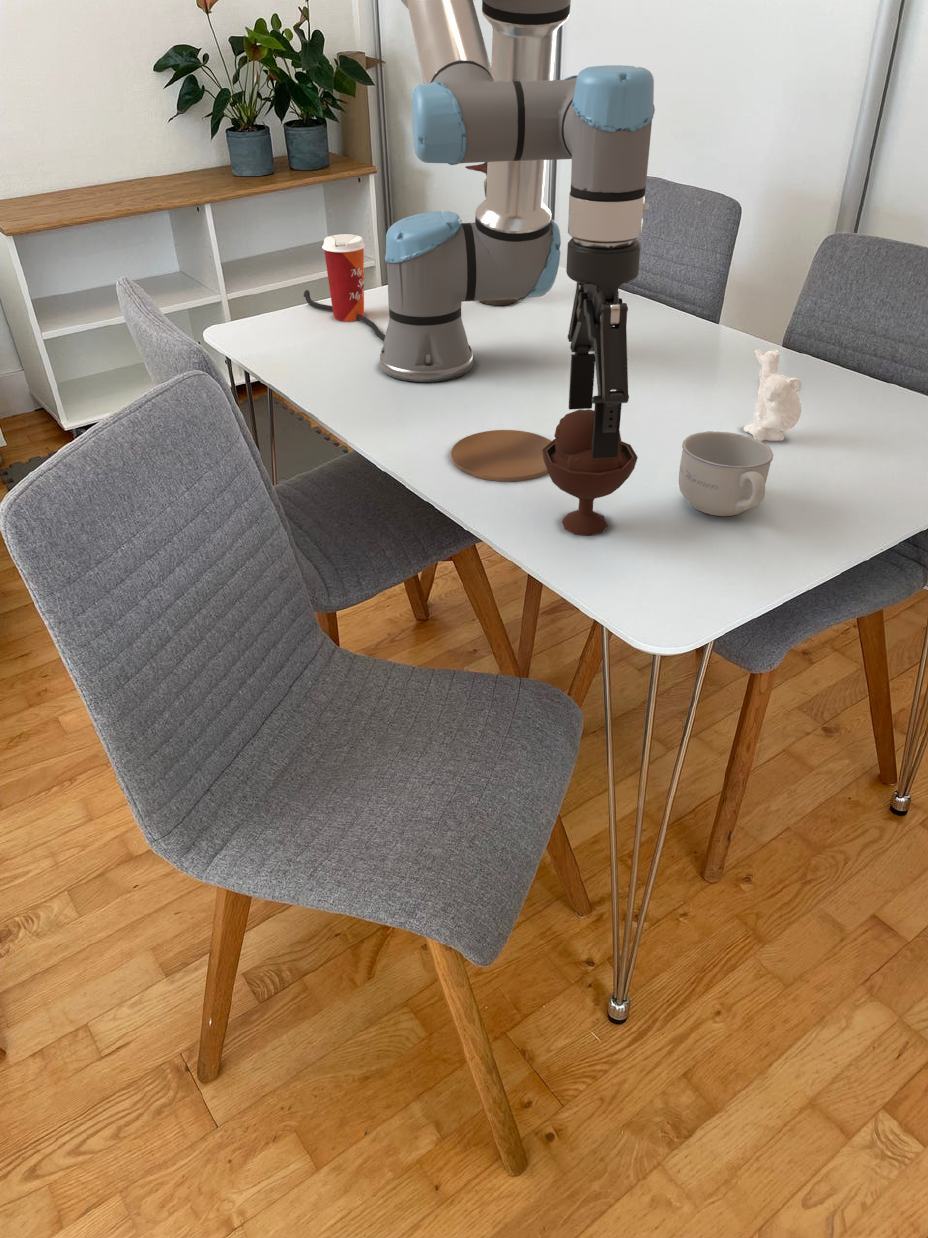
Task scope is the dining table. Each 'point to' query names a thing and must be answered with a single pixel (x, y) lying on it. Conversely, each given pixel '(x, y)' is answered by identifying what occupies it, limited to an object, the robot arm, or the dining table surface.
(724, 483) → the teacup
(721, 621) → the dining table surface
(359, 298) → the paper cup
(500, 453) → the brown round coaster
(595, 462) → the ice cream bowl
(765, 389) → the koala figurine
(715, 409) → the dining table surface
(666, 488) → the dining table surface
